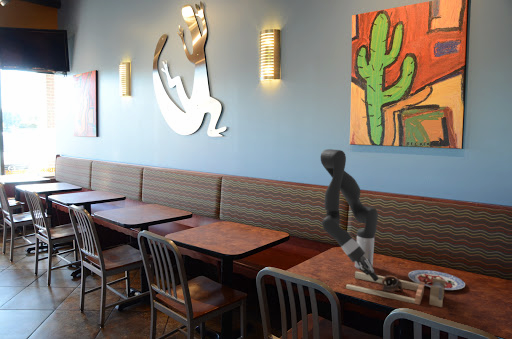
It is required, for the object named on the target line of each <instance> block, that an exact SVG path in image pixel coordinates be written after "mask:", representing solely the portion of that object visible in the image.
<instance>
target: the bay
mask: <svg viewBox="0 0 512 339" xmlns="http://www.w3.org/2000/svg"><path fill="white" fill-rule="evenodd" d="M376 275H377V276H378V277H379V279H378V280H377V281H374V280H373V279H372V277H371V276H370V275H366V274H365V273H364V272H362V271H357V270H355V271H354V279H357V280H363V281H367V282H372V283H376V284H381V285H382V281H383V279H384V278H385V276H382V275H378V274H376ZM392 280H394V279H392ZM399 280H400V281H401V284H402V288H403V289H405V290H411V291H416V293H415V298H414V297H410V296H409V297H408V296H406V295H405V296H404V295H400V294H395V293H391V292H388V291H384V292H383V291H382V290H377V289H373V288H367V287H363V286H358V285H353V284H349V283H347V284H346V286H345V289H346V290H347V289H348V290H351V291H355V292H360V293H365V294H369V295H374V296H379V297H382V298H388V299H392V300H396V301H401V302H406V303H410V304H414V305H415V304H416V305H419V306H420V305H421V302H422V298H423V296H424V292H425V286H424V285H425V283H424V282H420V283H416V282H414V281H408V280H402V279H399ZM384 284H385V285H386V281H385V282H384ZM391 286H393V285H391Z"/></svg>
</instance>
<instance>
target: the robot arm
mask: <svg viewBox="0 0 512 339" xmlns="http://www.w3.org/2000/svg"><path fill="white" fill-rule="evenodd" d="M346 161H347V157H346V153H345V152H344V151H343V150H342V149H331V148H330V149H329V148H328V149H324V150H323V151H322V152H321V153H320V163H321V164H322V166H323V167H324V169H325V170H326V171H327V173H328V174H329V175H330V176H331V181H330V182H329V185H328V186H327V188H326V190H325V193H324V209H325V211H326V212H325V213H326V217H324V218H323V219H322V221H321V223H322V224H321V226H322V228H323V230H324V231H325V232H326V233H327V234H328V235H329V236H330V237H332V238H333V239H334V240H335V241H336V243H337V244H338V245H339V247H340V248H341V249H342V251H343V252H344V253H345V255H346V256H347V257H348V258H349V259H350V261H351V262H352V263H354V267H355V268H356V269H358V270H360V272H363V273H365V274H366V275H370V276H371V277H372V279H373V280H374V281H377V280H378V279H379V277H378V276H379V275H378V274H377V273H375V268H374V266H373V263H374V249H375V236H376V233H377V226H378V219H379V214H378V210H377V209H376V208H375V207H370V206H365V205H364V204H363V203H362V202H361V200H360V197H361V193H362V192H361V188H360V185H359V184H358V182H357V180H355V178H354V177H353V176H352V175H351V174H349V173H348V172H347V171H346V170H345V169H346ZM340 194H342V195H343V197H344V199H345V201H346V202H347V204H348V206H349V207H350V210H351V212H352V214H353V217H354V218H355V220H356V221H357V222H358V223H361V224H365V225H364V228H360V229H358V230H357V232H356V240H355V239H354V238H353V237H352V236H351V234H350V233H349V232H348V231H347V230H346V229H344V228H342V227H341V226H340V222H341V217H340V216H341V215H340V214H341V213H340ZM377 275H378V276H377Z"/></svg>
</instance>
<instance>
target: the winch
mask: <svg viewBox="0 0 512 339" xmlns="http://www.w3.org/2000/svg"><path fill="white" fill-rule="evenodd" d="M444 288H445V280H443V279H438V278H433V282H432V285H431V288H430V291H429V304H428V305H429V306H430V305H431V306H435V307H437V308H438V307H439V308H443V300H444V296H445V290H444Z"/></svg>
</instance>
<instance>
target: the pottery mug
mask: <svg viewBox="0 0 512 339" xmlns="http://www.w3.org/2000/svg"><path fill="white" fill-rule="evenodd" d="M384 277H385V278H384V279H383V281H382V284H381V291H382V292H387V293H391V292H394V291H401V292H402V293H404V288H402V284H401V281H400V280H401V279H398V278H397V277H396V276H395V275H390V274H386V275H385V276H384ZM392 279H394V280H392ZM385 281H386V284H384V282H385ZM391 285H393V286H391Z"/></svg>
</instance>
